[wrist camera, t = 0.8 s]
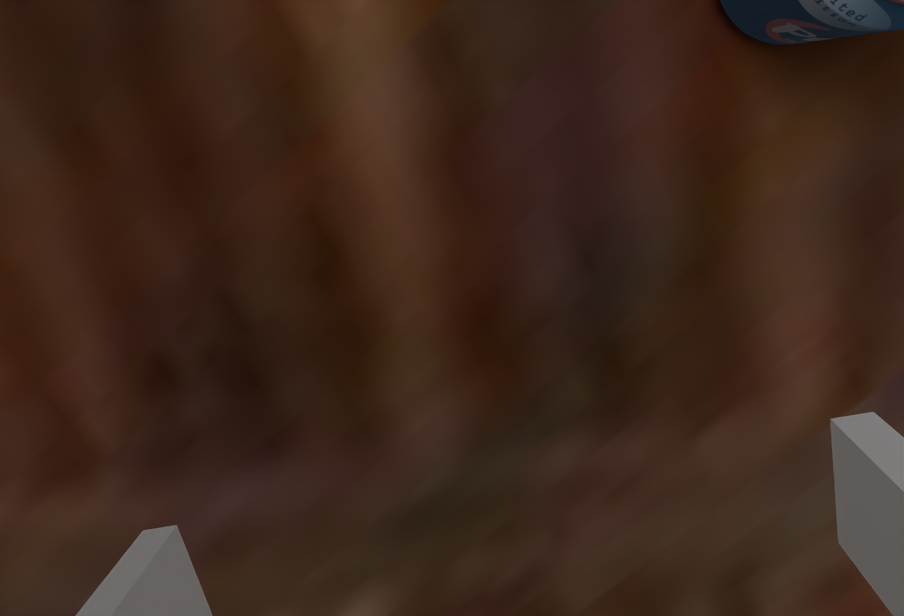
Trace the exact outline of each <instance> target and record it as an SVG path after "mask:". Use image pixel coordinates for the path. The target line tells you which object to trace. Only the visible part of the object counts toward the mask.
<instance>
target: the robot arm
mask: <svg viewBox="0 0 904 616" xmlns="http://www.w3.org/2000/svg"><path fill="white" fill-rule="evenodd" d="M830 422H831V438H832V453H833V468H834V484H835V499H836V514H837V530H838V543H839V544H840V546H841V547H842V548H843V549H844V551H845V552H846V553H847V555H848V556H849V557H850V559H851V560H852V561H853V563H854V564H855V565H856V567H857V568H858V569H859V571H860V572H861V573H862V575H863V576H864V577H865V579H866V580H867V581H868V583H869V584H870V585H871V587H872V588H873V589H874V591H875V592H876V593H877V595H878V596H879V597H880V599H881V600H882V601H883V603H884V604H885V605H886V607H887V608H888V609H889V611H890V612H891V613H892V615H893V616H904V438H903V437H902V436H901V435H900V434H899V433H897V432H896V431H895V430H894V429H893V428H892V427H891V426H889V425H888V424H887V423H886V422H885V421H884V420H882V419H881V418H880V417H879V416H878V415H877V414H875V413H874V412H870V413H864V414H857V415H851V416H845V417H839V418H833V419H830ZM76 616H212V613H211V611H210V608H209V605H208V603H207V600H206V598H205V595H204V593H203V590H202V588H201V585H200V583H199V580H198V578H197V575H196V573H195V570H194V567H193V565H192V562H191V560H190V557H189V555H188V552H187V550H186V547H185V545H184V542H183V540H182V537H181V535H180V532H179V530H178V527H177V525H174V526H168V527H162V528H156V529H149V530H143V531H142V533H141V534H140V535H139V536H138V538H137V539H136V540H135V541H134V543H133V544H132V545H131V546H130V548H129V549H128V550H127V551H126V553H125V554H124V555H123V557H122V558H121V559H120V560H119V562H118V563H117V564H116V565H115V567H114V568H113V569H112V570H111V572H110V573H109V574H108V575H107V577H106V578H105V579H104V581H103V582H102V583H101V584H100V586H99V587H98V588H97V589H96V591H95V592H94V593H93V594H92V596H91V597H90V598H89V599H88V601H87V602H86V603H85V605H84V606H83V607H82V608H81V610H80V611H79V612H78V613H77V615H76Z"/></svg>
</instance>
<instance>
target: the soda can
mask: <svg viewBox="0 0 904 616" xmlns="http://www.w3.org/2000/svg"><path fill="white" fill-rule="evenodd" d="M720 1H721V4H722V6H723V8H724V10H725V12H726V14H727V15H728V16H729V18H730V19H731V20H732V22H733V23H734V24H735V25H736V26H737V27H738V28H739V29H740V30H742V31H743V32H744V33H746V34H747V35H749V36H751V37H753V38H755V39H757V40H760V41H763V42H766V43H770V44H778V45H790V44H799V43H806V42H813V41H821V40H828V39H835V38H843V37H850V36H857V35H865V34H872V33H879V32H887V31H894V30H901V29H904V0H720Z"/></svg>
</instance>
